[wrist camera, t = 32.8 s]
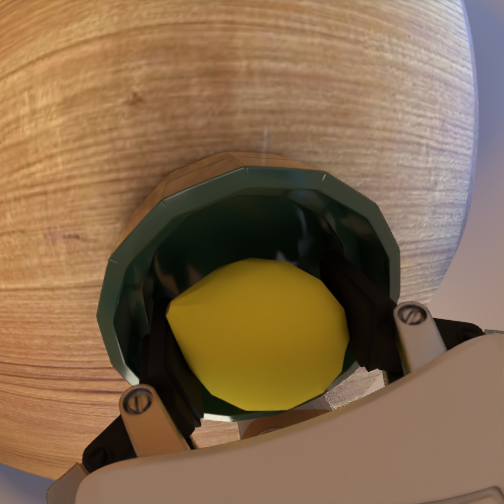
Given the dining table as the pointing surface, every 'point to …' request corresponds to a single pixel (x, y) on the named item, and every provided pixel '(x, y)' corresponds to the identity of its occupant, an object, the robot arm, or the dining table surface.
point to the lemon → (261, 334)
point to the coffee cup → (283, 419)
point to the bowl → (235, 245)
